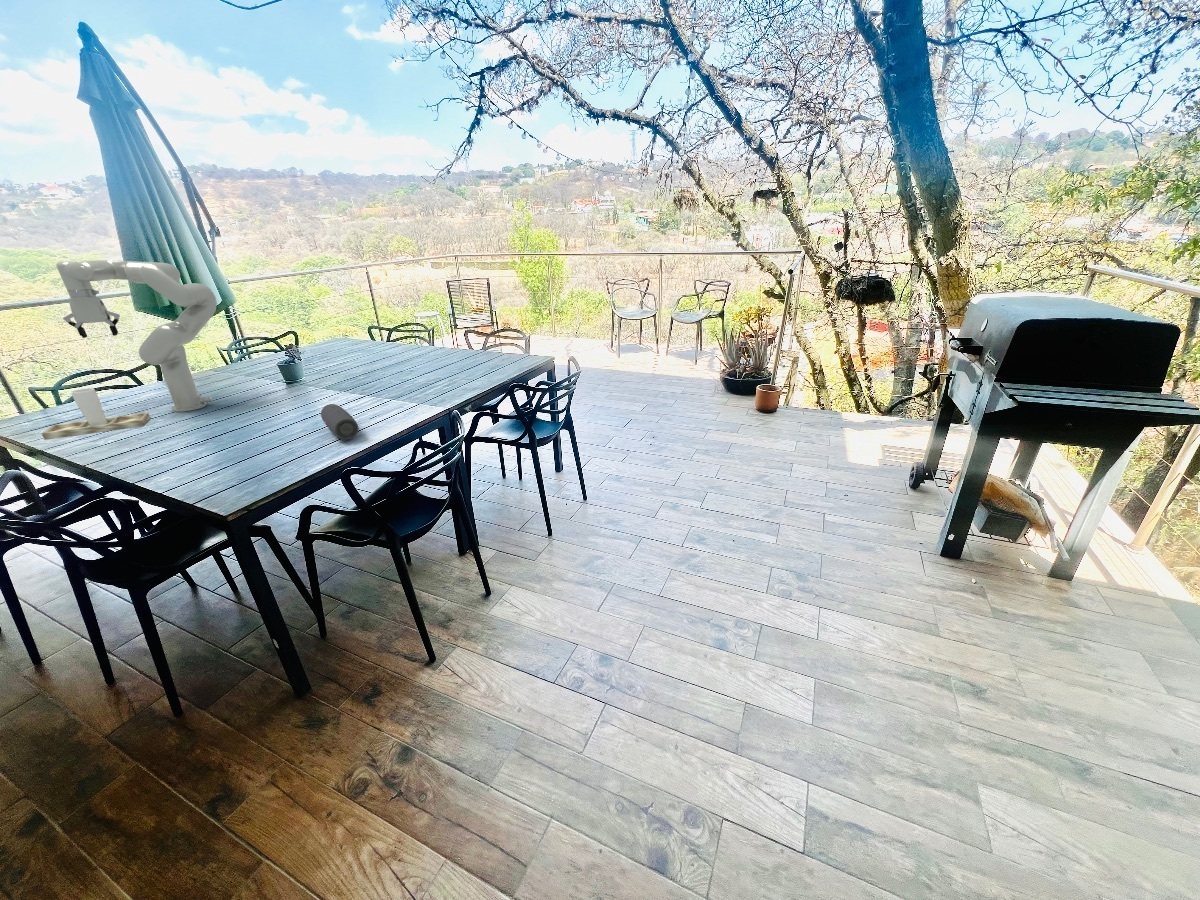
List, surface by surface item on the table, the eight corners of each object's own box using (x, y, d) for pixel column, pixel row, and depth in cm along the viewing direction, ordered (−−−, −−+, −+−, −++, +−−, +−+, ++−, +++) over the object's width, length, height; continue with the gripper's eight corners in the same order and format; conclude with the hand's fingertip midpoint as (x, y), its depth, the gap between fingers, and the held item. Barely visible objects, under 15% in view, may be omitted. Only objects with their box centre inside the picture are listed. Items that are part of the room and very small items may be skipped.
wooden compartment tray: (150, 418, 207) (148, 412, 206) (143, 425, 198) (141, 420, 197) (56, 430, 194) (53, 424, 193) (44, 439, 185) (41, 433, 184)
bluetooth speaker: (322, 428, 195) (316, 405, 191) (346, 423, 200) (341, 400, 196) (336, 445, 179) (330, 420, 175) (362, 439, 185) (357, 415, 180)
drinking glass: (96, 428, 192) (79, 393, 186) (83, 428, 193) (65, 392, 187) (115, 423, 198) (98, 388, 192) (102, 422, 199) (85, 387, 193)
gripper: (113, 292, 201) (129, 332, 209) (57, 294, 194) (76, 336, 201) (107, 293, 196) (124, 335, 203) (48, 296, 188) (69, 339, 195)
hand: (100, 336), depth 202 cm, fingers open, 9 cm apart
